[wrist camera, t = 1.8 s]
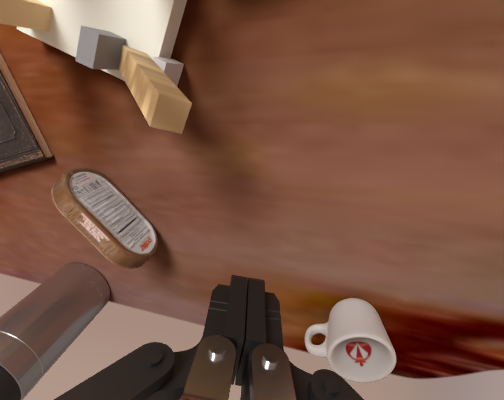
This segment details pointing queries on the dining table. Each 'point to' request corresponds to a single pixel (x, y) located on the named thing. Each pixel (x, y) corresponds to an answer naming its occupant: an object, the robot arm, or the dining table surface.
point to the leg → (154, 91)
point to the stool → (102, 29)
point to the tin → (105, 217)
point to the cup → (354, 342)
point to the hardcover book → (17, 127)
